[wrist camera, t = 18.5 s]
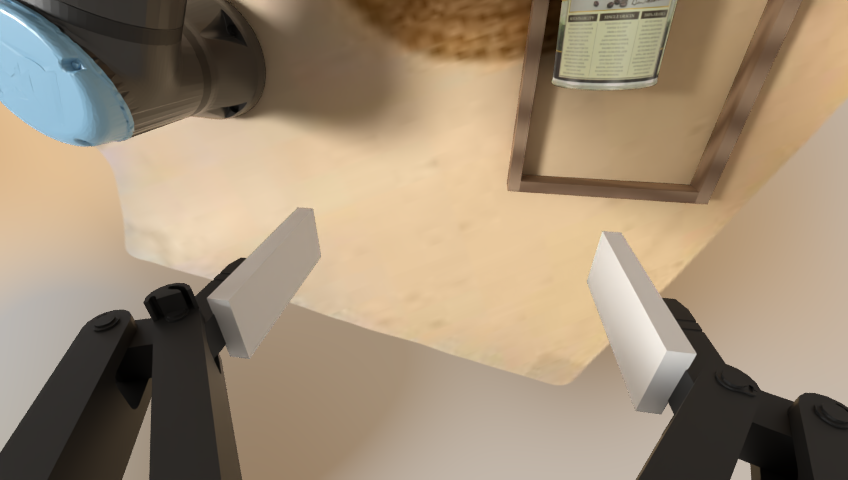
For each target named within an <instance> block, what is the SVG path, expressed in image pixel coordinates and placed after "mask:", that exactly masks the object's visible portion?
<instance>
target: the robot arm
mask: <svg viewBox="0 0 848 480" xmlns="http://www.w3.org/2000/svg"><path fill="white" fill-rule="evenodd" d="M264 84H265V63H264V57H263V53H262V50H261V47H260V44H259V42H258V40H257V37H256V35H255V34H254V32H253V30H252V28H251V27H250V25H249V24H248V22H247V21H246V20H245V18H244V17H243V16H242V15H241V14H240V13H239V12H238V11H237V10H236V9H235V8H234V7H233V6H232V5H231V4H230V3H228V2H227V1H226V0H0V101H1V102H2V103H3V104H4V105H5V106H6V107H7V108H8V109H9V110H10V111H11V112H12V113H14V114H15V115H16V116H17V117H19V118H20V119H21V120H23V121H24V122H25V123H27V124H28V125H30V126H31V127H33V128H34V129H36V130H38V131H39V132H41V133H43V134H45V135H46V136H48V137H51V138H53V139H55V140H58V141H60V142H64V143H66V144H71V145H76V146H97V145H101V144H105V143H109V142H113V141H123V140H127V139H129V138H131V137H134V136H136V135H139V134H142V133H145V132H148V131H150V130H153V129H156V128H159V127H162V126H164V125H167V124H170V123H173V122H176V121H178V120H181V119H184V118H187V117H190V116H192V117H201V118H209V119H228V118H232V117H235V116H238V115H241V114H243V113H245V112H247V111H249V110H250V109H251V108H252V107H253V106H254V105H255V104H256V103H257V102H258V100H259V99H260V97H261V94H262V92H263V89H264ZM320 258H321V252H320V246H319V241H318V235H317V229H316V223H315V217H314V211H313V209H311V208H299V207H298V208H297V209H296V210H295V211H294V212H293V213H292V214H291V215H290V216H289V217H288V218H287V219H286V220H285V221H284V222H283V223H282V224H281V225H280V226H279V227H278V228H277V229H276V230H275V231H274V232H273V233H272V234H271V235H270V236H269V237H268V238H267V239H266V240H265V241H264V242H263V243H262V244H261V245H260V246H259V247H258V248H257V249H256V250H255V251H254V252H253V253H252V254H251V255H250V256H249V257H248V258H240V259H238V260H236V261H234V262H232V263H231V264H229V265H228V266H227V267H226V268H225V269H224V270H223V271H221V273H220V274H218V275H217V276H216V277H215V278H214V280H213V281H211V282H210V283H209V284H208V285H207V286H206V287H205V288H204V289H203V290H201V292H199V293H198V294H197V295H196V296H194V294H193V292H192V289H191V288H190V286H189V285H187V284H185V283H174V284H169V285H166V286H163V287H160V288H158V289H156V290H155V291H153V292H151V293H150V294H149V295H148V296H147V297H146V298H145V301H144V305H145V306H146V308H147V310H148V312H149V314H150V316H151V318H150V319H142V320H134V319H133V317H132V315H131V314H130V312H129V311H126V310H113V311H110V312H106V313H103V314H101V315H98V316H97V317H95V318H93V319H92V320H90V321H89V322H87V323H86V325H85V326H84V327H83V328H82V329H81V331H80V332H79V334H78V335H77V337H76V338H75V340H74V341H73V343H72V344H71V346H70V348H69V349H68V350H67V352H66V354H65V355H64V357H63V358H62V360H61V361H60V363H59V364H58V366H57V367H56V369H55V370H54V372H53V373H52V375H51V376H50V378H49V379H48V381H47V382H46V384H45V385H44V387H43V388H42V390H41V392H40V393H39V395H38V396H37V398H36V399H35V401H34V402H33V404H32V405H31V407H30V408H29V410H28V411H27V413H26V415H25V416H24V418H23V419H22V420H21V422H20V423H19V425H18V427H17V428H16V430H15V431H14V433H13V434H12V436H11V437H10V439H9V440H8V442H7V443H6V445H5V447H4V448H3V449H2V451H1V452H0V480H122V478H123V475H124V472H125V470H126V466H127V464H128V461H129V458H130V455H131V453H132V449H133V447H134V444H135V442H136V439H137V436H138V433H139V430H140V427H141V425H142V422H143V419H144V416H145V413H146V411H147V408H148V405H149V402H150V399H151V397H152V400H151V438H150V475H149V480H242V476H241V470H240V465H239V459H238V453H237V447H236V442H235V436H234V430H233V424H232V418H231V413H230V407H229V401H228V395H227V389H226V384H225V378H224V372H223V366H222V360H221V358H220V355H219V352H220V351H221V350H222V349H223V347H224V346H225V345H226V347H227V350H228V352H229V354H230V356H232V357H239V358H248V359H250V358H251V356H252V355H253V353H254V352H255V350H256V349H257V348H258V346H259V345H260V343H261V342H262V340H263V339H264V338H265V336H266V335H267V333H268V332H269V331H270V329H271V328H272V326H273V325H274V323H275V322H276V321H277V319H278V317H279V316H280V315H281V313H282V312H283V311H284V309H285V307H286V306H287V305H288V303H289V302H290V300H291V299H292V298H293V296H294V295H295V293H296V292H297V290H298V289H299V288H300V286H301V285H302V283H303V282H304V280H305V279H306V278H307V276H308V275H309V273H310V272H311V270H312V269H313V268H314V266H315V265H316V263H317V262H318V260H319V259H320ZM587 284H588V286H589V289H590V292H591V294H592V297H593V300H594V302H595V305H596V307H597V310H598V313H599V315H600V318H601V321H602V323H603V326H604V329H605V331H606V334H607V337H608V339H609V342H610V345H611V347H612V350H613V353H614V355H615V358H616V361H617V363H618V366H619V369H620V371H621V374H622V376H623V379H624V382H625V384H626V387H627V390H628V393H629V395H630V398H631V401H632V403H633V406H634V409H635V411H640V412H648V413H655V414H662V412H663V410H664V409H665V407H666V405H667V404H668V402H669V405H670V406H671V409H672V411H673V413H674V416H673V418H672V419H671V421H670V422H669V424H668V426H667V427H666V429H665V430H664V432H663V434H662V436H661V438H660V439H659V441H658V443H657V445H656V446H655V448H654V450H653V451H652V453H651V455H650V457H649V458H648V460H647V461H646V463H645V465H644V466H643V468H642V470H641V472H640V473H639V475H638V477H637V478H636V480H730V479H731V476H732V473H733V471H734V468H735V465H736V463H737V460H738V459H741V460H743V461H746V462H748V463H750V465H751V480H848V407H846V406H845V405H843V404H842V403H840V402H837V401H835V400H833V399H831V398H829V397H827V396H823V395H820V394H816V393H804V394H803V395H800V396H799V397H798V398H797V399H796V400H795V402H793V401H790V400H787V399H784V398H781V397H778V396H775V395H772V394H769V393H766V392H764V391H761V390H760V388H759V387H758V385H757V383H756V382H755V381H753V380H752V379H751V378H750V377H749V376H748V375H746V374H745V373H743V372H742V371H740V370H739V369H737V368H734V367H732V366H730V365H727V364H725V362H724V361H723V359H722V358H721V357H720V355H719V354H718V352H717V351H716V349H715V348H714V346H713V345H712V343H711V342H710V340H709V339H708V338H707V336H706V335H705V333H704V332H702V329H701V327H700V326H699V325H698V323H696V320H695V319H694V317H693V316H692V314H691V313H690V311H689V310H688V309H687V308H685V307H684V306H683V305H682V304H681V303H679V302H678V301H677V300H676V299H668V298H662V297H661V296H660V294H659V292H658V291H657V289H656V288H655V286H654V284H653V283H652V281H651V280H650V278H649V276H648V275H647V273H646V272H645V270H644V268H643V267H642V265H641V264H640V262H639V260H638V259H637V257H636V256H635V254H634V252H633V251H632V249H631V248H630V246H629V244H628V243H627V241H626V239H625V238H624V236H623V235H622V233H620V232H608V231H602V234H601V237H600V241H599V244H598V247H597V250H596V253H595V257H594V260H593V263H592V266H591V270H590V273H589V276H588V279H587Z"/></svg>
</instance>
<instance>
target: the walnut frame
mask: <svg viewBox="0 0 848 480" xmlns="http://www.w3.org/2000/svg"><path fill="white" fill-rule="evenodd" d="M801 2H802V0H768V2H767V5H766V7H765V10H764V12H763V14H762V17H761V19H760V21H759V24H758V26H757V28H756V31H755V33H754V35H753V38H752V40H751V42H750V45H749V47H748V50H747V52H746V54H745V57H744V59H743V61H742V64H741V66H740V68H739V71H738V73H737V75H736V78H735V80H734V83H733V85H732V87H731V90H730V92H729V94H728V97H727V99H726V101H725V104H724V106H723V108H722V111H721V113H720V115H719V118H718V120H717V123H716V125H715V127H714V130H713V132H712V134H711V137H710V139H709V141H708V144H707V146H706V148H705V151H704V153H703V156H702V158H701V160H700V163H699V165H698V167H697V170H696V172H695V174H694V177H693V179H692V181H691V184H690V185H683V184H667V183H650V182H634V181H617V180H601V179H585V178H568V177H552V176H536V175H522V169H523V163H524V157H525V150H526V144H527V138H528V132H529V125H530V119H531V113H532V106H533V100H534V94H535V87H536V81H537V75H538V68H539V62H540V56H541V50H542V43H543V37H544V31H545V24H546V18H547V12H548V5H549V0H532V5H531V12H530V20H529V27H528V34H527V41H526V49H525V56H524V63H523V70H522V78H521V85H520V92H519V99H518V107H517V114H516V121H515V128H514V136H513V143H512V150H511V158H510V165H509V172H508V179H507V189H508V191H516V192H531V193H545V194H560V195H575V196H590V197H605V198H620V199H635V200H650V201H665V202H680V203H695V204H708V202H709V200H710V198H711V195H712V193H713V191H714V189H715V187H716V185H717V183H718V180H719V178H720V176H721V174H722V172H723V170H724V168H725V165H726V163H727V161H728V159H729V157H730V155H731V152H732V150H733V148H734V146H735V144H736V142H737V140H738V137H739V135H740V133H741V131H742V129H743V127H744V125H745V122H746V120H747V118H748V116H749V114H750V112H751V110H752V107H753V105H754V103H755V101H756V99H757V97H758V95H759V92H760V90H761V88H762V86H763V84H764V82H765V80H766V77H767V75H768V73H769V71H770V69H771V67H772V64H773V62H774V60H775V58H776V56H777V54H778V52H779V49H780V47H781V45H782V43H783V41H784V39H785V37H786V34H787V32H788V30H789V28H790V26H791V24H792V22H793V19H794V17H795V15H796V13H797V11H798V9H799V7H800V4H801Z"/></svg>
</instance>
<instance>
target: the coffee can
mask: <svg viewBox="0 0 848 480" xmlns="http://www.w3.org/2000/svg"><path fill="white" fill-rule="evenodd" d="M676 4H677V0H562V6H561V14H560V22H559V30H558V38H557V47H556V54H555V63H554V72H553V79H552V84H553V85H555V86H559V87H563V88H569V89H580V90H628V89H638V88H645V87H650V86H653V85H655V84H657V81H658V80H657V78H658V74H659V70H660V66H661V62H662V58H663V54H664V50H665V46H666V42H667V39H668V35H669V31H670V27H671V23H672V19H673V16H674V12H675V8H676Z"/></svg>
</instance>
